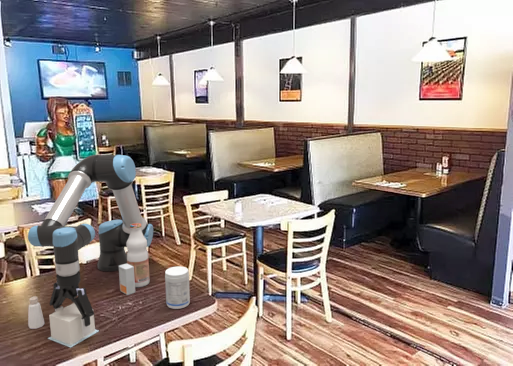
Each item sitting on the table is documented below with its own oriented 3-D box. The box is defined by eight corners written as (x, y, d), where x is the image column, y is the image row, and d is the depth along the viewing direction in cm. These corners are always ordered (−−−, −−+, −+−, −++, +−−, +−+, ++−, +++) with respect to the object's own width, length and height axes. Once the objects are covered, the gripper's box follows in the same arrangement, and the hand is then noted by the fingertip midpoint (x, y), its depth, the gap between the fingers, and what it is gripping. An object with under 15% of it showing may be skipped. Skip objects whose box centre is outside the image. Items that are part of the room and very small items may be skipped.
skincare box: (119, 291, 186) (118, 265, 183) (128, 288, 189) (126, 262, 186) (127, 295, 181) (125, 269, 179) (135, 292, 185) (134, 266, 182)
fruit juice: (124, 287, 190) (120, 226, 185) (134, 278, 199) (130, 221, 194) (144, 288, 188) (140, 227, 183) (153, 280, 197) (150, 222, 192)
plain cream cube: (76, 325, 157) (74, 302, 156) (95, 331, 153) (93, 309, 151) (51, 338, 148) (49, 314, 147) (71, 345, 144) (68, 321, 142)
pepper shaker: (27, 330, 154) (24, 302, 152) (28, 323, 159) (25, 296, 157) (44, 327, 156) (41, 299, 154) (45, 320, 161) (42, 293, 159)
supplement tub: (169, 299, 178) (167, 265, 175) (191, 299, 178) (190, 265, 175) (164, 310, 168) (162, 275, 166) (187, 309, 168) (186, 275, 166)
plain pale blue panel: (76, 323, 159) (76, 322, 159) (99, 331, 153) (99, 330, 153) (47, 338, 148) (47, 338, 148) (70, 347, 143) (70, 347, 143)
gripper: (35, 269, 149) (41, 325, 153) (83, 283, 137) (88, 343, 141) (54, 262, 155) (59, 316, 159) (102, 275, 144) (106, 332, 148)
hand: (73, 329), depth 150 cm, fingers open, 13 cm apart
